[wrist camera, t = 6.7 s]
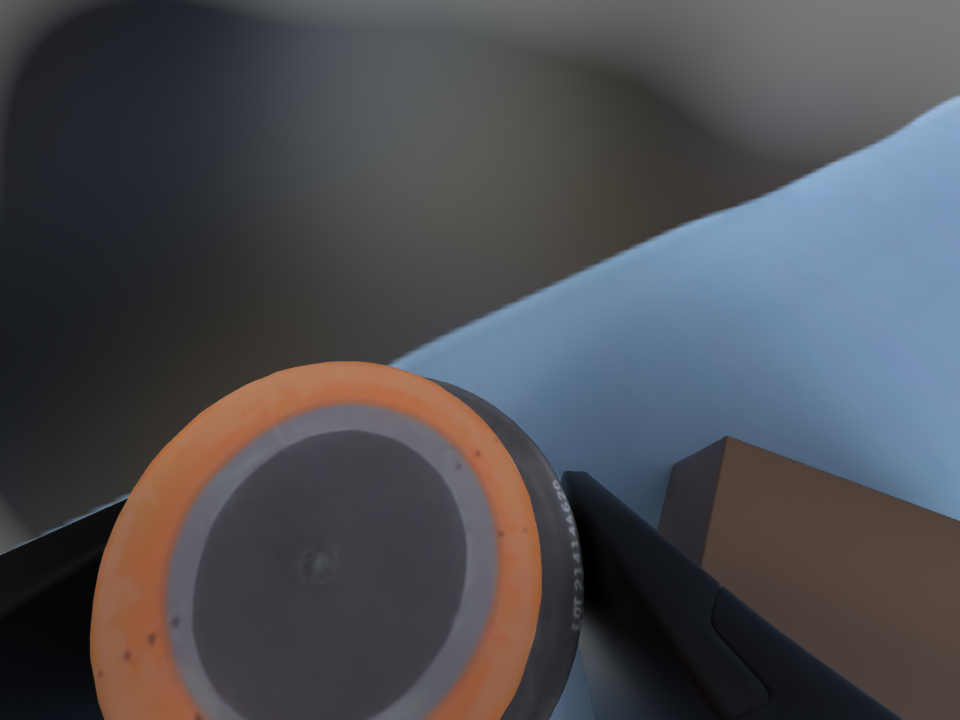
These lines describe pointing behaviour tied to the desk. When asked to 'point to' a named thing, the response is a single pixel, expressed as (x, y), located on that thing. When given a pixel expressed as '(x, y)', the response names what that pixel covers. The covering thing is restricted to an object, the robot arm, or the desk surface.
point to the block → (829, 568)
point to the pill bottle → (341, 560)
